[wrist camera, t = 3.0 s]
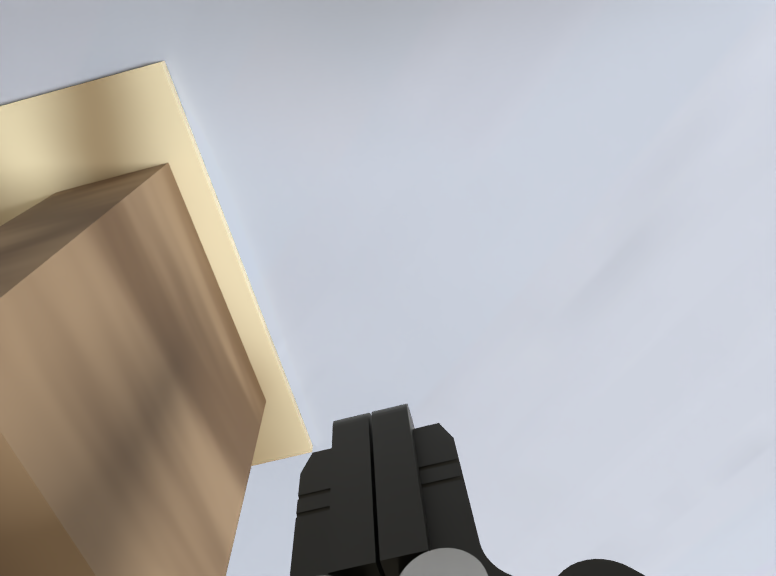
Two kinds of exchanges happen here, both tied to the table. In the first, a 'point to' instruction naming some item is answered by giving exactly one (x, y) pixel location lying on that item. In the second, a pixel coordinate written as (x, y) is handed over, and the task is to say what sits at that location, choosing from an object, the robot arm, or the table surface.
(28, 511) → the slab
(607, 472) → the table surface
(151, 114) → the board
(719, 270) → the table surface
